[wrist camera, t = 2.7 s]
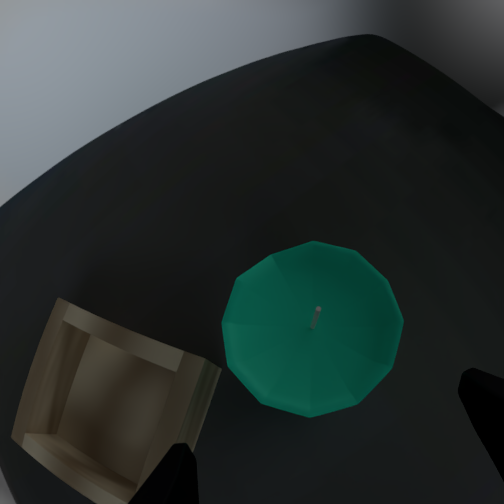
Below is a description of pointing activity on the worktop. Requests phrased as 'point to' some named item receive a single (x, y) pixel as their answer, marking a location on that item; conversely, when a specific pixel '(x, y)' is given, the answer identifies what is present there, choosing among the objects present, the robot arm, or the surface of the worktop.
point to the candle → (311, 329)
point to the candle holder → (108, 403)
